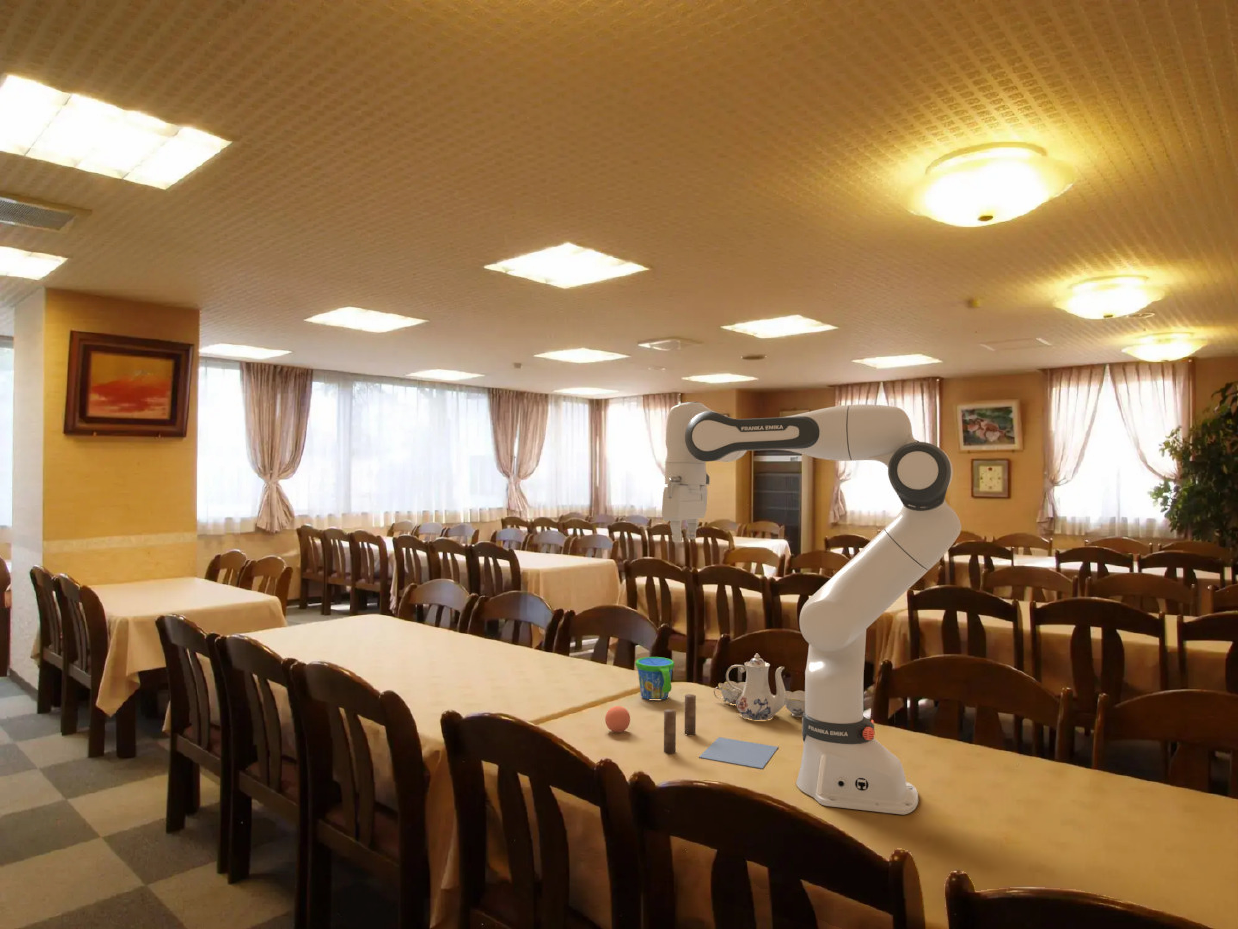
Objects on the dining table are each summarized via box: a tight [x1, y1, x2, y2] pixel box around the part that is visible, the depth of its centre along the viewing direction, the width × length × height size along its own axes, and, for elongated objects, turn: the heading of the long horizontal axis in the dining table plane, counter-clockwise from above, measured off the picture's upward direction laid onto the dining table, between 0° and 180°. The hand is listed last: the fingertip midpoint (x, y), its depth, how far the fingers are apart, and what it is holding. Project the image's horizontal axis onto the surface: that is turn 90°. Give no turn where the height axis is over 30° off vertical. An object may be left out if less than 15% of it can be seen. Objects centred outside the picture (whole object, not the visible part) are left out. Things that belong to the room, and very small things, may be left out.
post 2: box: [684, 693, 697, 736], centre depth 175 cm, size 3×3×9 cm
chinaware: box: [713, 653, 805, 720], centre depth 192 cm, size 28×17×17 cm, turn 65°
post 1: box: [663, 708, 677, 755], centre depth 163 cm, size 3×3×9 cm
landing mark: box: [698, 736, 779, 770], centre depth 163 cm, size 14×14×1 cm
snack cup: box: [635, 656, 675, 700], centre depth 204 cm, size 16×10×10 cm
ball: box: [604, 705, 631, 733], centre depth 176 cm, size 6×6×6 cm
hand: (684, 540), depth 159 cm, fingers open, 8 cm apart
